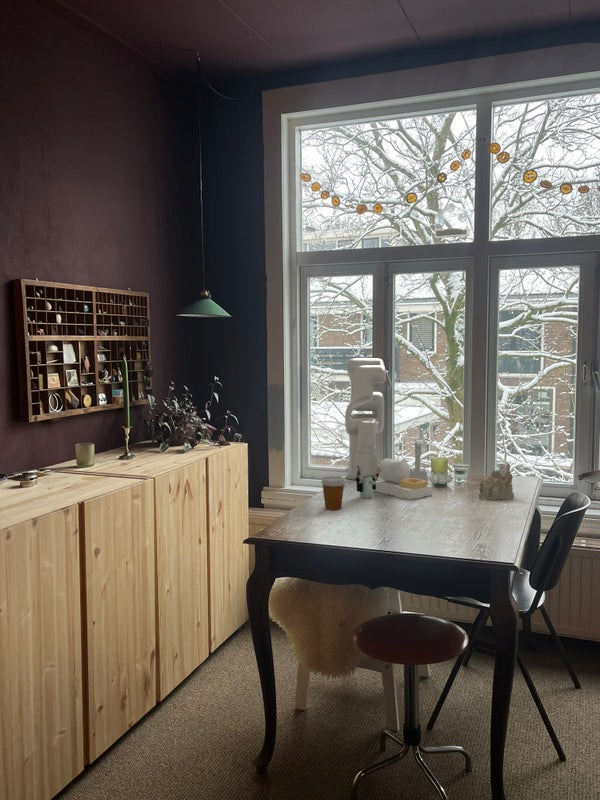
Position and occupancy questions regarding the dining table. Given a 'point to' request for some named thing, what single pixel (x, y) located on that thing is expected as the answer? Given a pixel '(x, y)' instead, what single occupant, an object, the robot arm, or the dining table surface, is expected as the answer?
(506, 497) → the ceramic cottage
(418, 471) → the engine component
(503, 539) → the dining table surface
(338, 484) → the disposable coffee cup
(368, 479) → the drain pump
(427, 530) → the dining table surface
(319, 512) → the dining table surface
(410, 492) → the motor plinth
